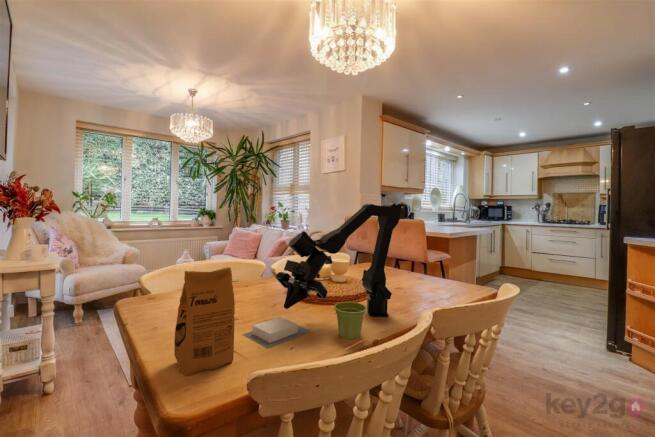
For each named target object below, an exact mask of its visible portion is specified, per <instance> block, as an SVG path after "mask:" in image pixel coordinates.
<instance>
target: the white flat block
mask: <svg viewBox="0 0 655 437" xmlns="http://www.w3.org/2000/svg"><path fill="white" fill-rule="evenodd" d="M298 326H299V325H298V323H297V322H294V321H292V320H290V319H289V320H288V319H287V318H284V317H281V316H278V317H275V318H272V319H269V320H266V321H263V322H260V323H256V324H253V325H252V331H253V334H254V335H255V336H257V337H259V338H261V339H263V340H265V341H267V342H269V343H271V342H274V341H276V340H279V339H282V338H284V337H287V336H289V335H292V334H295V333H297V332H298Z"/></svg>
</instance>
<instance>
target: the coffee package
mask: <svg viewBox="0 0 655 437" xmlns="http://www.w3.org/2000/svg"><path fill="white" fill-rule="evenodd" d="M183 279H184V283H183V284H182V285H183V286H182V291H181V295H180V298H179V305H178V308H177V317H176V324H175V331H174V347H173V348H174V351H173V352H174V357H175V360H176V363H177V365H178V372H179V373H181V374H182V375H183V376H186V377H187V376H190V375H193V374H196V373H198V372H200V371H212V370H217V369H218V368H220V367H222V366H225V365H226V364H230V363H232V362H233V361H234V355H235V354H234V353H235V352H234V350H235V348H234V347H235V311H236V310H235V293H234V285H233V274H232V269H231V267H230V266H227V267H223V268H220V269H216V270H212V271H195V270H192V271H191V270H190V271H188V270H184V278H183Z"/></svg>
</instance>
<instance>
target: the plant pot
mask: <svg viewBox="0 0 655 437" xmlns="http://www.w3.org/2000/svg"><path fill="white" fill-rule="evenodd" d="M333 308H334V310H335V313H336V318H337V319H336V320H337V329H338V335H339V337H340V338H343V339H347V340H355V339H359V338H360V337H361V333H362V332H361V331H362V325H363V320H364V315H365V313H366V312H367V305H365V304H363V303H361V302H360V303H359V302H355V301H343V302H338V303H335V305H334V307H333Z"/></svg>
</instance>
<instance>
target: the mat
mask: <svg viewBox="0 0 655 437" xmlns="http://www.w3.org/2000/svg"><path fill="white" fill-rule="evenodd" d="M310 332H311V333H312V330H310V329H308V328H306V327H303V326H301V325H298V332H297V333H295V334H292V335H289V336H287V337H284V338H282V339H279V340H276V341H274V342H271V343H269V342H267V341H265V340H263V339H261V338H259V337H257V336H255V335H254V334H253V330H251V331H248V332H245V333H243V334H242V336H244V337H246V339H247V338H248V339H250V340H251V341H252V342H255V343H256V344H258V345H261V346H262V347H264V348H266V349H270V348H273V347H275V346H278V345H281V344H283V343H285V342H288V341H291V340H293V339H296V338H298V337H300V336H303V335H306V334H308V333H310Z"/></svg>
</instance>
